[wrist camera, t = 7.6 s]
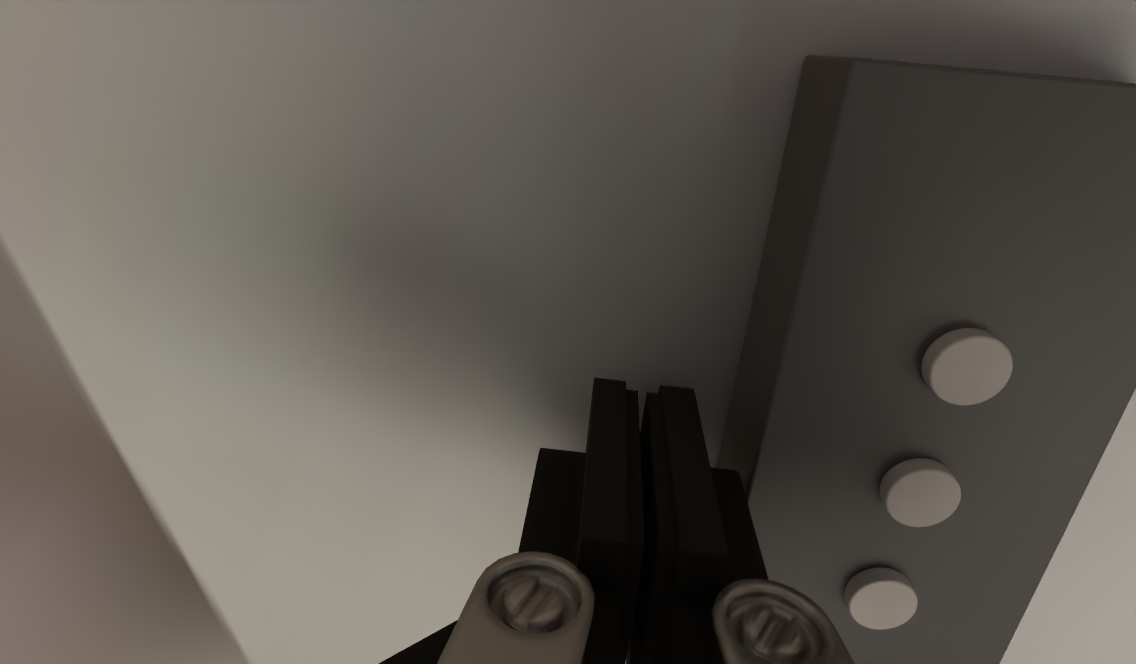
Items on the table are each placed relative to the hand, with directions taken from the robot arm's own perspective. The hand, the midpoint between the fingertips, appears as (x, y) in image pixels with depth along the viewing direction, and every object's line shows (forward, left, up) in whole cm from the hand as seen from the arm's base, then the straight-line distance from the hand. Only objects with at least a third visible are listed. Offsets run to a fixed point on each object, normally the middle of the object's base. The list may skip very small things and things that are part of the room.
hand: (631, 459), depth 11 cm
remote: (0, +4, -1) cm, 4 cm away
